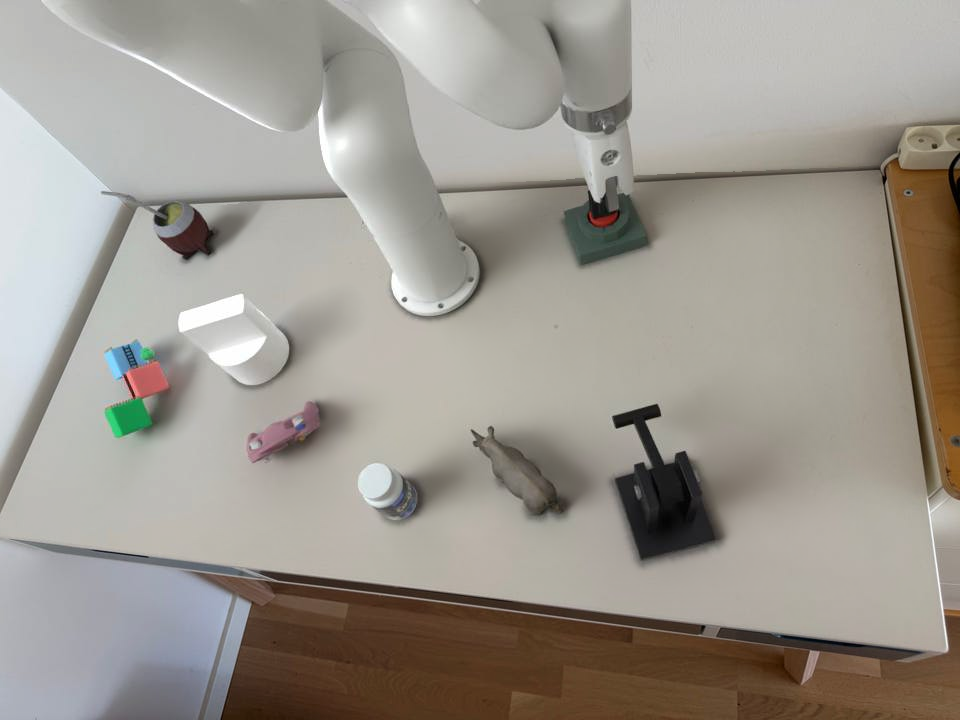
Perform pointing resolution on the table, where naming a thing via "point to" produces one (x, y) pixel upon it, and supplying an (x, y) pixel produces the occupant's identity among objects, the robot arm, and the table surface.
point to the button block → (605, 232)
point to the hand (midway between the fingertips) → (603, 211)
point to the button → (604, 220)
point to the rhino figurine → (519, 474)
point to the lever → (653, 454)
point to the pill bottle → (387, 491)
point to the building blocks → (133, 386)
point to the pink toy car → (282, 433)
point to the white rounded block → (237, 338)
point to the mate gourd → (177, 226)
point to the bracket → (664, 512)
